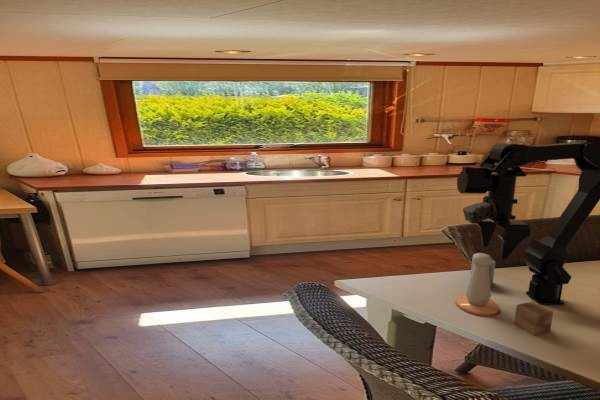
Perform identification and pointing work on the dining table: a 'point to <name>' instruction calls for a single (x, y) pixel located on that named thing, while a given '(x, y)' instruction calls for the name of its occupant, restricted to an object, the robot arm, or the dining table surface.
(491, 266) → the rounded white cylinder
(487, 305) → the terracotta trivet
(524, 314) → the walnut block
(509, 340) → the dining table surface
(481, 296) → the salt shaker
